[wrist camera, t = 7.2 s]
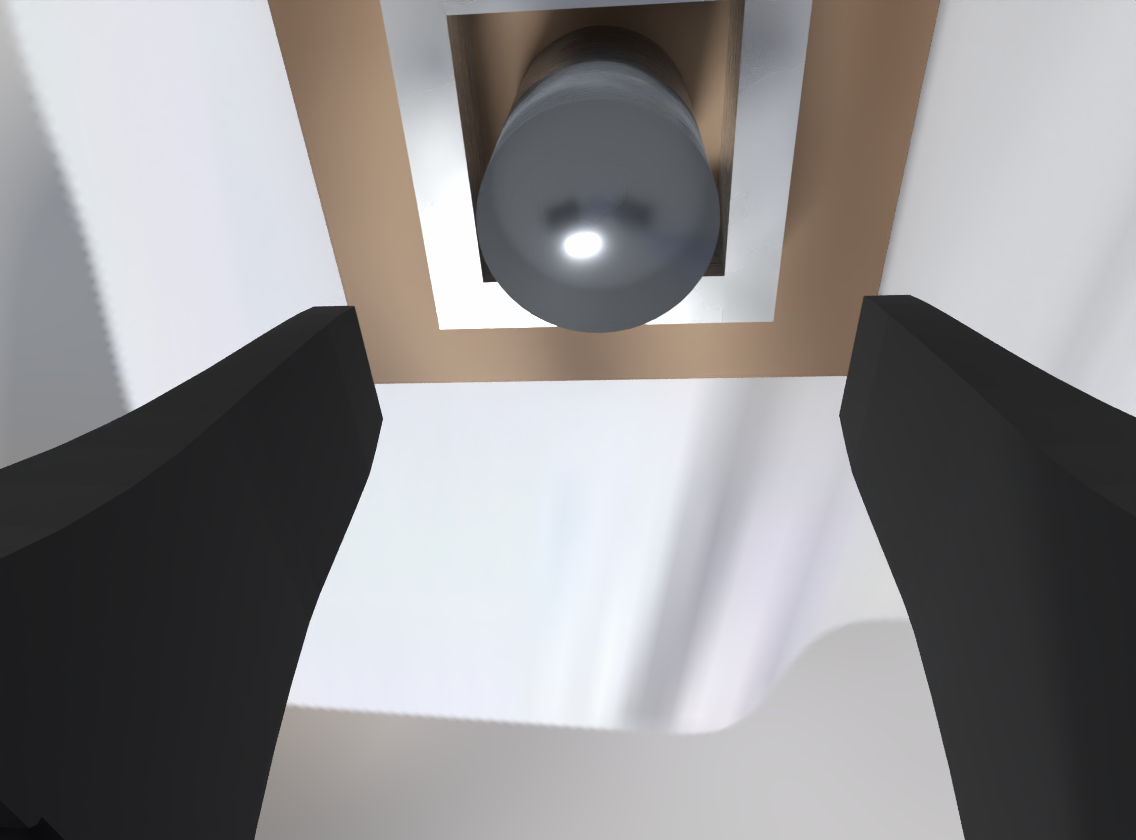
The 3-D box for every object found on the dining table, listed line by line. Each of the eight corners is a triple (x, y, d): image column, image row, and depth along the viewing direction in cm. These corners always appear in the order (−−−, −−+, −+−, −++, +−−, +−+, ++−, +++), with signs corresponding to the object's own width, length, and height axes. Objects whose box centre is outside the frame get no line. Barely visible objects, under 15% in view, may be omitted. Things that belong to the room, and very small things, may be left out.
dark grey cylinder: (693, 20, 16) (728, 93, 11) (686, 204, 18) (712, 330, 13) (505, 30, 16) (459, 106, 11) (522, 210, 19) (490, 335, 14)
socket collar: (798, -94, 15) (822, -86, 13) (759, 278, 19) (773, 321, 18) (398, -68, 15) (369, -57, 13) (456, 287, 20) (439, 328, 18)
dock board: (991, -319, 13) (1009, -328, 12) (853, 359, 22) (860, 375, 21) (218, -253, 14) (199, -258, 14) (375, 369, 23) (368, 384, 22)
